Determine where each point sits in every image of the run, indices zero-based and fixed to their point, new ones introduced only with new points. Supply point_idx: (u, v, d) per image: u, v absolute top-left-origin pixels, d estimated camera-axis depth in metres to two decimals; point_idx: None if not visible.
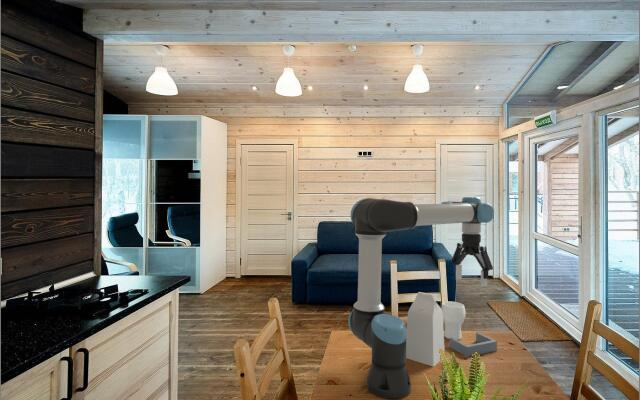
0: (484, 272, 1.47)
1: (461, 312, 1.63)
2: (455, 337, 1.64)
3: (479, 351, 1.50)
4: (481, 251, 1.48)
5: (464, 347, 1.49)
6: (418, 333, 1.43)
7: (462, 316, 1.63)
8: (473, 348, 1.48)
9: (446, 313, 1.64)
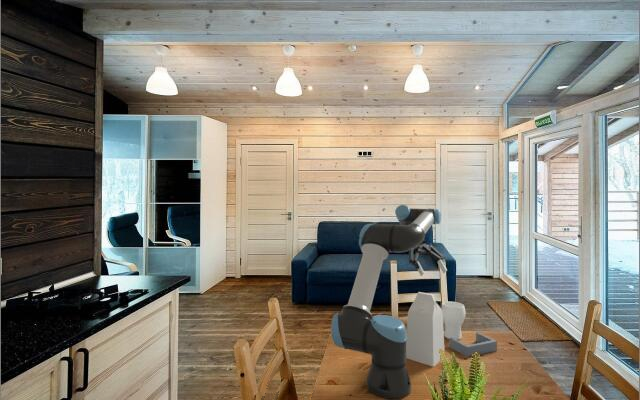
0: (442, 261, 1.83)
1: (461, 312, 1.63)
2: (455, 337, 1.64)
3: (479, 351, 1.50)
4: (432, 247, 1.88)
5: (464, 347, 1.49)
6: (418, 333, 1.43)
7: (462, 316, 1.63)
8: (473, 348, 1.48)
9: (446, 313, 1.64)
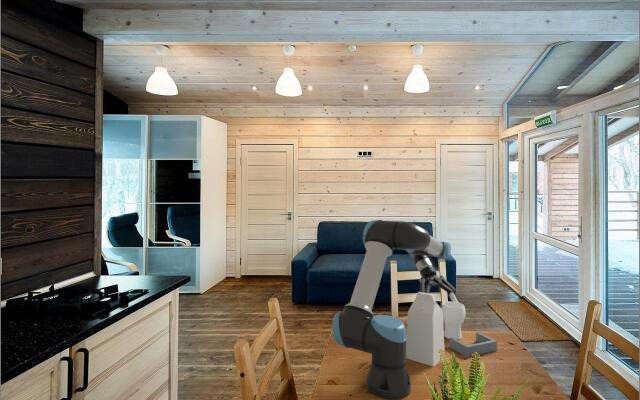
0: (453, 294, 1.79)
1: (461, 312, 1.63)
2: (455, 337, 1.64)
3: (479, 351, 1.50)
4: (443, 278, 1.84)
5: (464, 347, 1.49)
6: (418, 333, 1.43)
7: (462, 316, 1.63)
8: (473, 348, 1.48)
9: (446, 313, 1.64)
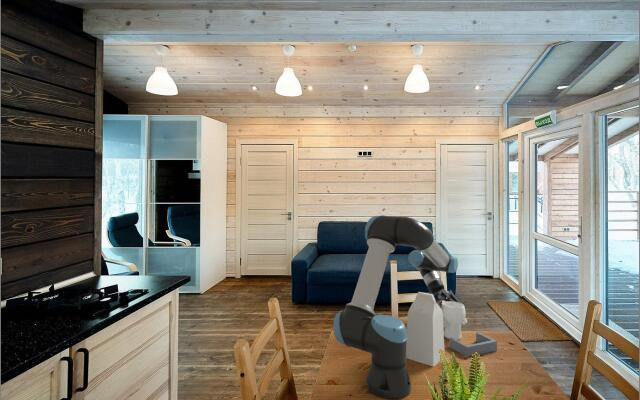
0: None
1: (461, 312, 1.63)
2: (455, 337, 1.64)
3: (479, 351, 1.50)
4: (452, 293, 1.77)
5: (464, 347, 1.49)
6: (418, 333, 1.43)
7: (462, 316, 1.63)
8: (473, 348, 1.48)
9: (446, 313, 1.64)
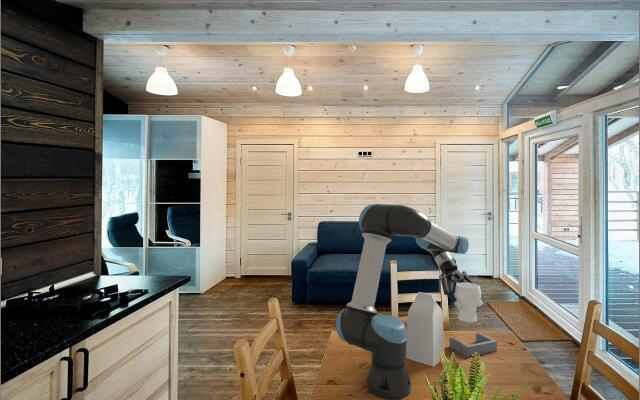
0: None
1: (477, 293, 1.53)
2: (470, 319, 1.54)
3: (479, 351, 1.50)
4: (466, 274, 1.67)
5: (464, 347, 1.49)
6: (418, 333, 1.43)
7: (478, 297, 1.53)
8: (473, 348, 1.48)
9: (461, 294, 1.54)
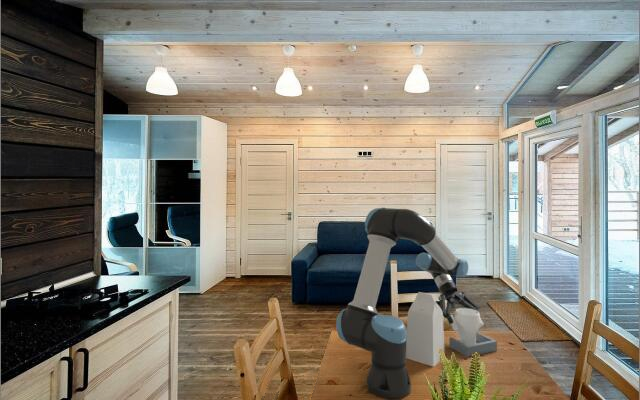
0: None
1: (476, 320, 1.53)
2: None
3: (479, 351, 1.50)
4: (465, 295, 1.67)
5: (464, 347, 1.49)
6: (418, 333, 1.43)
7: (477, 324, 1.53)
8: (473, 348, 1.48)
9: (460, 321, 1.55)
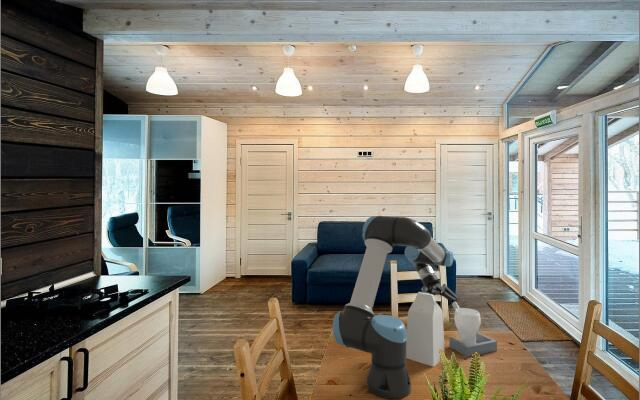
0: (456, 303, 1.75)
1: (476, 320, 1.53)
2: None
3: (479, 351, 1.50)
4: (446, 287, 1.79)
5: (464, 347, 1.49)
6: (418, 333, 1.43)
7: (477, 324, 1.53)
8: (473, 348, 1.48)
9: (460, 321, 1.55)
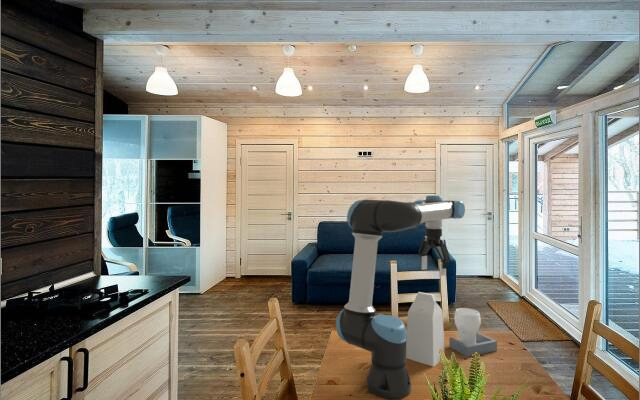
0: (443, 263, 1.65)
1: (476, 320, 1.53)
2: None
3: (479, 351, 1.50)
4: (440, 244, 1.66)
5: (464, 347, 1.49)
6: (418, 333, 1.43)
7: (477, 324, 1.53)
8: (473, 348, 1.48)
9: (460, 321, 1.55)
